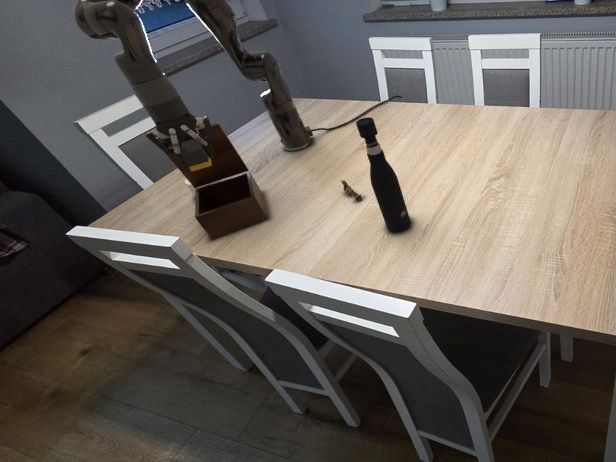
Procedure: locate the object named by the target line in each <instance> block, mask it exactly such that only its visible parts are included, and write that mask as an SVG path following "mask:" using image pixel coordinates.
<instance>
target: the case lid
mask: <svg viewBox="0 0 616 462" xmlns="http://www.w3.org/2000/svg"><path fill="white" fill-rule="evenodd" d="M210 124H211V127H212V131H213V135H214V141H213V142H210V143H209V144H210V146H211V148H212V149H213V151H214V158H213V159H211V162H212V166H209V167H205V168H202V169H199V170H196V171H191V170H190V168H189V167H188V165H187V164H183V163H182V161H181V160H180V158H179V157H178V155H177V154H175V153H170V154H166V153H165V155H166V156H167V157H168V159H169V160H170V161H171V162H172V163H173V164H174V165H175V167H176V168H177V169H178V170H179V171H180V173H181V174H182V176H184V178H185V179H186V178H187V180H188V181H189V182H190V183H191V184H192V186H193V187H194V188H197V187H200V186H203V185H206V184H210V183H213V182H216V181H219V180H224V179H228V178H231V177H234V176H237V175H240V174H243V173H247V172H249V171H250V169H249V168H248V166H247V164H246V163H245V161H244V160H243V158H242V157H241V155H240V153H239V152H238V151H237V149H236V147H235V146H234V145H233V142H232V141H231V140H230V138H229V136H228V135H227V134H226V132H225V130H224V129H223V127H222V126H221V124H220V122H214V123H210ZM195 129H196V130H198V131H199V132H200V133H201V135H203V136H204V137H207V133H206V129H205V126H201V124H200V123H198V122H197V123H196V128H195ZM160 138H161V139H162V140H163V141H164V142H166V143H167V144H168V145H169V146H170V147H173V145H172V141H171V137H168V136H163V137H160ZM192 139H194V138H193V137H185V138H183V139H181V140H179V142H180V146H181V143H182V142H184V141H188V140H192Z"/></svg>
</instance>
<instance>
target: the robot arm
mask: <svg viewBox="0 0 616 462" xmlns="http://www.w3.org/2000/svg"><path fill="white" fill-rule="evenodd" d="M142 1H143V0H77V1H76V3H75V4H74V8H73V11H72V13H73V19H74V23H75V25H76V26H77V28H78V29H79V30H80V32H82V33H83V34H84V35H85V36H87V37H89V38H90V39H94V40H97V41H112V40H113V41H114V40H119V41H120V44H121V47H122V50H121V51H118V52H117V53H115V54H114V55H113V57H112V59H113V63H114V65H115V66H116V67H117V69H118V71H119V72H120V73H121V75H122V76H123V77H124V79H125V80H126V82H127V83H128V85H129V87H130V88H131V90H132V92H133V94H134V96H135V97H136V98H137V100H138V101H139V103H140V105H141V106H142V107H143V109H144V110H145V112H146V113H147V114H148V115H149V117H150V119H151V121H152V122H153V123H154V124H155V128H153V129H151V130H147V131H146V138H147V139H148V140H149V141H150V142H152V143H153V144H154V145H155V146H156V147H157V148H159V149H160V150H161V151H162V152H164V154H165V155H166V154H170V153H175V154H177V155H178V157H179V158H180V160H181V161H182V163H183V164H186V163H185V161H184V160H183V158H182V157H181V155H180V154H181V146H180V142H179V140H181V139H183V138H185V137H193V138H194V139H195V140H197V141H198V142H199V143H201V144H202V145H203V148H204V150H205V151H206V153H207V154H208V156H209V157H210V159H213V158H214V151H213V149H212V148H211V146H210V144H209V143H210V142H213V141H214V135H213V131H212V127H211V124H212V123H211V120H210V117H209V116H208V115H203V116H198V117H196V116H195V115H194V114H192V113H191V112H190V110H189V109H188V107H187V106H186V104H185V103H184V101H183V99H182V97H181V95H180V94H179V93H178V91H177V89H176V87H175V86H174V85H173V83H172V82H171V81H170V79H169V78H168V77H167V75H166V74H165V72H163V70H162V68H161V66H160V65H159V63H158V62H157V60H156V59H155V58H154V55H153V53H152V48H151V46H150V43H149V40H148V37H147V33H146V31H145V28H144V27H145V26H144V25H143V22H142V20H141V18H140V17H139V15H138V13H137V12H136V11H135V10H136V9H138V7H140V5H141V3H142ZM183 1H184V2H185V3H186V5H187V6H188V7H189V9H190V10H191V11H192V12H193V13H194V14H195V16H196V17H197V18H198V20H200V21H201V23H202V24H203V25H204V27H206V29H208V31H209V32H210V33H211V35H212V36H213V37H214V38H215V40H216V41H217V42H218V43H219V44H220V45H221V47H222V48H223V50H224V51H225V52H226V54H227V56H228V57H229V59H231V61H232V62H233V64H234V66H235V67H236V68H237V70H238V71H239V72H240V74H241V75H242V76H243V78H245V79H246V80H247V81H249V82H251V83H254V84H255V83H256V84H258V83H267V85H268V87H269V89H268V90H266V91H264V92H262V93H261V94H260V101H261V102H262V104H263V106H264V108H265V111H266V112H267V114H268V117H269V119H270V120H271V123H272V124H273V126H274V129H275V130H276V133H277V135H278V136H279V139H280V140H279V141H280V143H281V144H282V146H283V147H284V149H285V150H286V151H289V152H294V151H300V150H302V149H305V148H307V147H308V146H310V145H312V144H313V142H312V140H311V137H313V136H314V133H313V132H318V131H333V130H336V129H339V128H342V127H344V126H346V125H348V124H350V123H352V122H355V121H357V120H358V119H360V118H361V117H362V116H364V115H365V114H367V113H368V112H370V111H372V110H373V109H374V108H377V107H378V106H381V105H383V104H385V103H387V102H390V101H392V100H393V99H396V98H399V99H402V98H403V97H402V96H401V95H393V96H391V97H390V98H388V99H385V100H383V101H381V102H379V103H377V104H375V105H373V106H371V107H370V108H367V109H366V110H365V111H363V112H362V113H360V114H358V115H357V116H355V117H353V118H352V119H350V120H349V121H346V122H344V123H341V124H338V125H337V126H334V127H328V128H326V127H319V128H312V129H311V127H310V125H306V126H305V124H304V122H303V120H302V118H301V116H300V113H299V111H298V109H297V107H296V105H295V103H294V100H293V98H292V95H291V93H290V87H289V85H288V82H287V80H286V77H285V74H284V72H283V69H282V66H281V64H280V61H279V59H278V58H277V56H276V55H275V54H274V53H273V52H271V51H267V50H263V51H249V50H248V49H247V48H246V47H245V45H244V44H243V43H242V41H241V39H240V37H239V33H238V22H237V21H238V20H237V16H236V12H235V9H234V8H233V7H232V6H231V4H230V3H229V1H228V0H183ZM196 123H199V124H200V125H201V127H203V126H205V129H206V133H207V137H204V136H203V135H201V133H200V132H199V131H198V130H196V129H195V128H196ZM161 135H164V136H165V137H167V136H168V137H171V141H172V145H173V147H170V146H169V145H168V144H167V143H166V142H164V141H163V140H162V139H161V138H162V137H161Z"/></svg>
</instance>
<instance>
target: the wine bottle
mask: <svg viewBox="0 0 616 462" xmlns="http://www.w3.org/2000/svg"><path fill="white" fill-rule="evenodd" d="M355 125H356V127H357V128H356V129H357V131H358V134H359V137H360V138H361V139H364V143H365V150H366V152H367V153H366V156H367V159H368V161H369V164H370V165H369V178H370V185H371V188H372V190H373V193H374V196H375V199H376V201H377V204H378V207H379V210H380V212H381V215H382V218H383V220H384V224H385V227H386V229H387V231H389V232H390V233H393V234H400V233H402V232H405V231H407V230H408V229H409V228H410V227H411V225H412V222H411V221H412V220H411V218H410V215H409V211H408V208H407V205H406V201H405V198H404V194H403V192H402V188H401V185H400V182H399V179H398V176H397V174H396V172H395V170H394V168H393V167H392V166H391V164H390V163H389V161H388V160H387V158H386V156H385V152H384V149H382V147H381V144H380V143H379V142H378V139H377V137H376V136H377V135H378V129H377V125H376V123H375V120H374V118H373V117H369V116H368V117H362V118H358V119H357V120H356V122H355Z"/></svg>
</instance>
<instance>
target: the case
mask: <svg viewBox="0 0 616 462" xmlns="http://www.w3.org/2000/svg"><path fill="white" fill-rule="evenodd" d="M194 199H195V200H194V218H195V220H196V221H197V223H198V224H199V225H200V227H201V228H202V229H203V231H204V232H205V233H206V235H207V236H208V237H209V238H210V240H215V239H218V238H221V237H223V236H226V235H228V234H231V233H234V232H236V231H239V230H242V229H245V228H248V227H250V226H253V225H256V224H259V223H262V222H265V221H267V220H269V218H268V213H267V209H266V204H265V201H264V195H263V191H262V190H261V188H260V187H259V185H258V183H257V181H256V179H255V178H254V177H253V175H252V173H251V172H250V170H249V171H247V172H244V173H241V174H238V175H234V176H231V177H228V178H225V179H222V180H221V181H218V182H215V183H212V184H209V185H206V186H203V187H200V188H196V190H195V196H194Z"/></svg>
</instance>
